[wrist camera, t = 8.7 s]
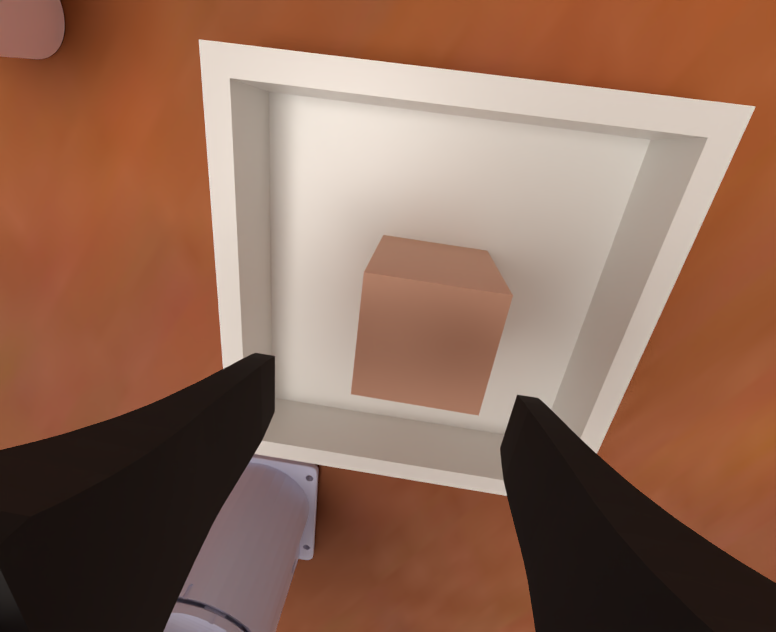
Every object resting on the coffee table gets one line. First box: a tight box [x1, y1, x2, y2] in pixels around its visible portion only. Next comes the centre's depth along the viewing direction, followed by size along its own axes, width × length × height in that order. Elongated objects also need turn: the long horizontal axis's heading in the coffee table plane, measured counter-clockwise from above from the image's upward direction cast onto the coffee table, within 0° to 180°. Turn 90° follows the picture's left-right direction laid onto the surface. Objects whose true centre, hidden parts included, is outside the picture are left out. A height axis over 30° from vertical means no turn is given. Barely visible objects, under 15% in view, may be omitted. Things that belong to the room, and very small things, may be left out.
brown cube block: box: [351, 235, 513, 416], centre depth 16 cm, size 5×5×6 cm
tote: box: [199, 39, 755, 496], centre depth 18 cm, size 18×18×4 cm
